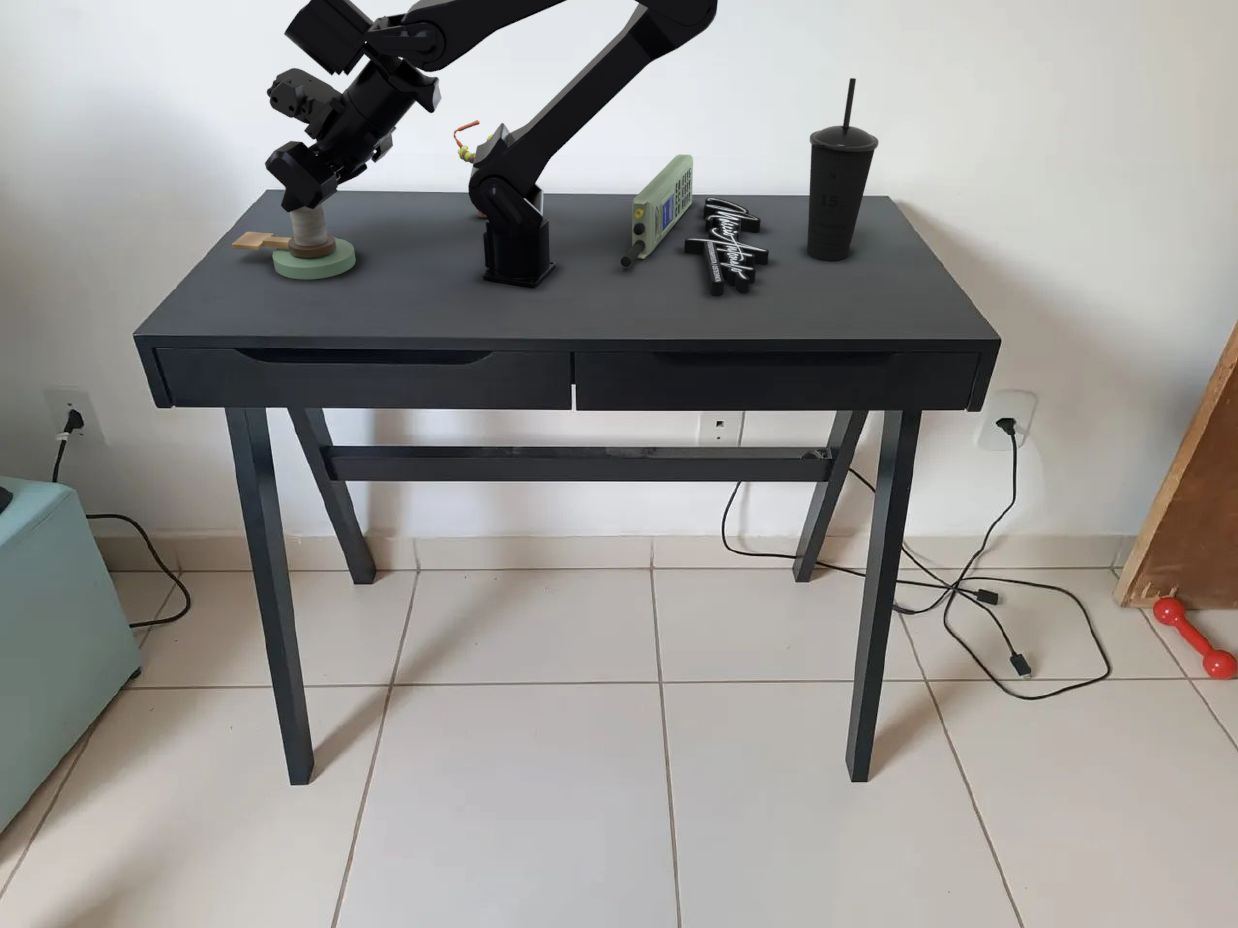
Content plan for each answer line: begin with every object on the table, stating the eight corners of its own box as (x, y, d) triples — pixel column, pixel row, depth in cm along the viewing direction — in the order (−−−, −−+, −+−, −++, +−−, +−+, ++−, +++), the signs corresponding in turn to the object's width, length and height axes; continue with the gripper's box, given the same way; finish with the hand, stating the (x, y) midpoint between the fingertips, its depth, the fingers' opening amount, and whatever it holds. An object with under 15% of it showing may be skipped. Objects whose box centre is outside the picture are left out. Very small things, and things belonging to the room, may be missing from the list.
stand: (370, 255, 111) (368, 243, 110) (327, 284, 104) (324, 272, 103) (304, 244, 114) (302, 232, 113) (258, 272, 107) (255, 260, 106)
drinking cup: (796, 239, 118) (818, 69, 106) (859, 244, 117) (888, 73, 105) (793, 262, 112) (816, 84, 100) (859, 268, 110) (889, 89, 99)
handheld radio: (695, 205, 127) (640, 275, 108) (672, 203, 128) (612, 271, 109) (697, 155, 124) (639, 218, 104) (672, 153, 125) (611, 215, 105)
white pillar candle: (343, 242, 110) (330, 157, 104) (326, 259, 106) (311, 172, 100) (250, 235, 111) (232, 151, 105) (229, 252, 107) (210, 165, 101)
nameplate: (677, 197, 125) (753, 198, 125) (677, 208, 126) (752, 209, 126) (691, 282, 103) (783, 283, 103) (690, 295, 104) (781, 296, 104)
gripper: (351, 26, 102) (277, 123, 110) (263, 65, 87) (186, 175, 95) (428, 106, 105) (351, 195, 114) (356, 157, 90) (273, 255, 99)
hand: (293, 202), depth 105 cm, fingers closed on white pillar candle, 4 cm apart
